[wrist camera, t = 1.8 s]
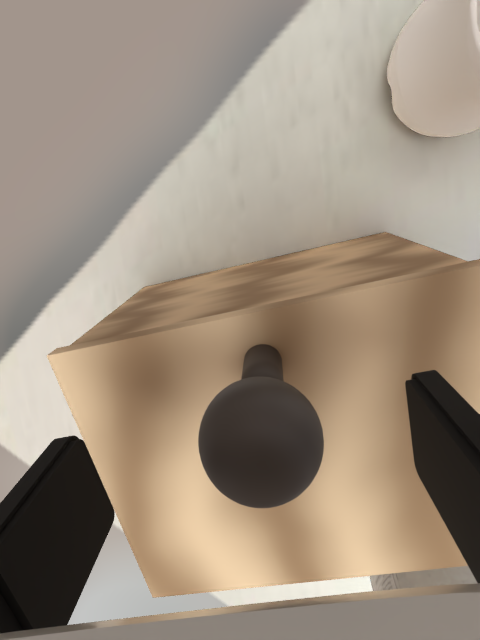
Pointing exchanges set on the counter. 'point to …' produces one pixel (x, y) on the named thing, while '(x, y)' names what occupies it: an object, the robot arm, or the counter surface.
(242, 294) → the wooden box
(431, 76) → the water bottle
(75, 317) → the counter surface
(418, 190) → the counter surface
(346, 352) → the lid
